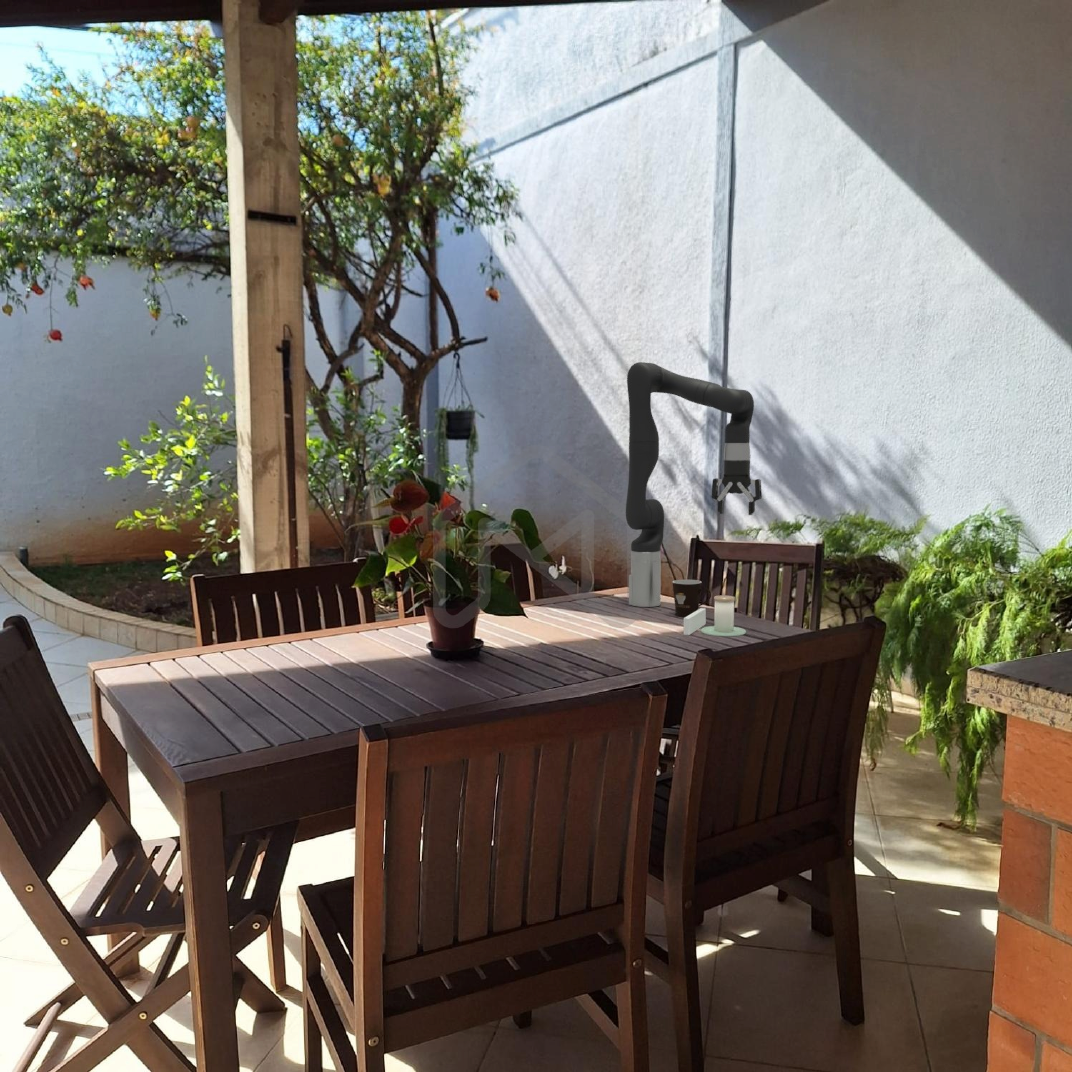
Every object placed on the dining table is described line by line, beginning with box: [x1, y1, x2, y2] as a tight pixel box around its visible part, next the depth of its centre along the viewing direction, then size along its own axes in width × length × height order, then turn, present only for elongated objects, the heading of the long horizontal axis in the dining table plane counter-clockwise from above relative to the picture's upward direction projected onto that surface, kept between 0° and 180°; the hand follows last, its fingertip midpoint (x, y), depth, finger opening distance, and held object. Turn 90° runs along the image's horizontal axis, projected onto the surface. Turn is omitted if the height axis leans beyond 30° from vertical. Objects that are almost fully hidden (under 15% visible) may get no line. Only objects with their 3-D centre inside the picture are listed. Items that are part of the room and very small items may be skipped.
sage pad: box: [700, 625, 747, 637], centre depth 263 cm, size 12×12×1 cm
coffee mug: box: [671, 579, 712, 618], centre depth 285 cm, size 12×9×10 cm
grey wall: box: [683, 607, 707, 636], centre depth 266 cm, size 2×16×4 cm, turn 154°
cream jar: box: [713, 594, 736, 632], centre depth 262 cm, size 6×6×9 cm
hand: (736, 514), depth 282 cm, fingers open, 8 cm apart
